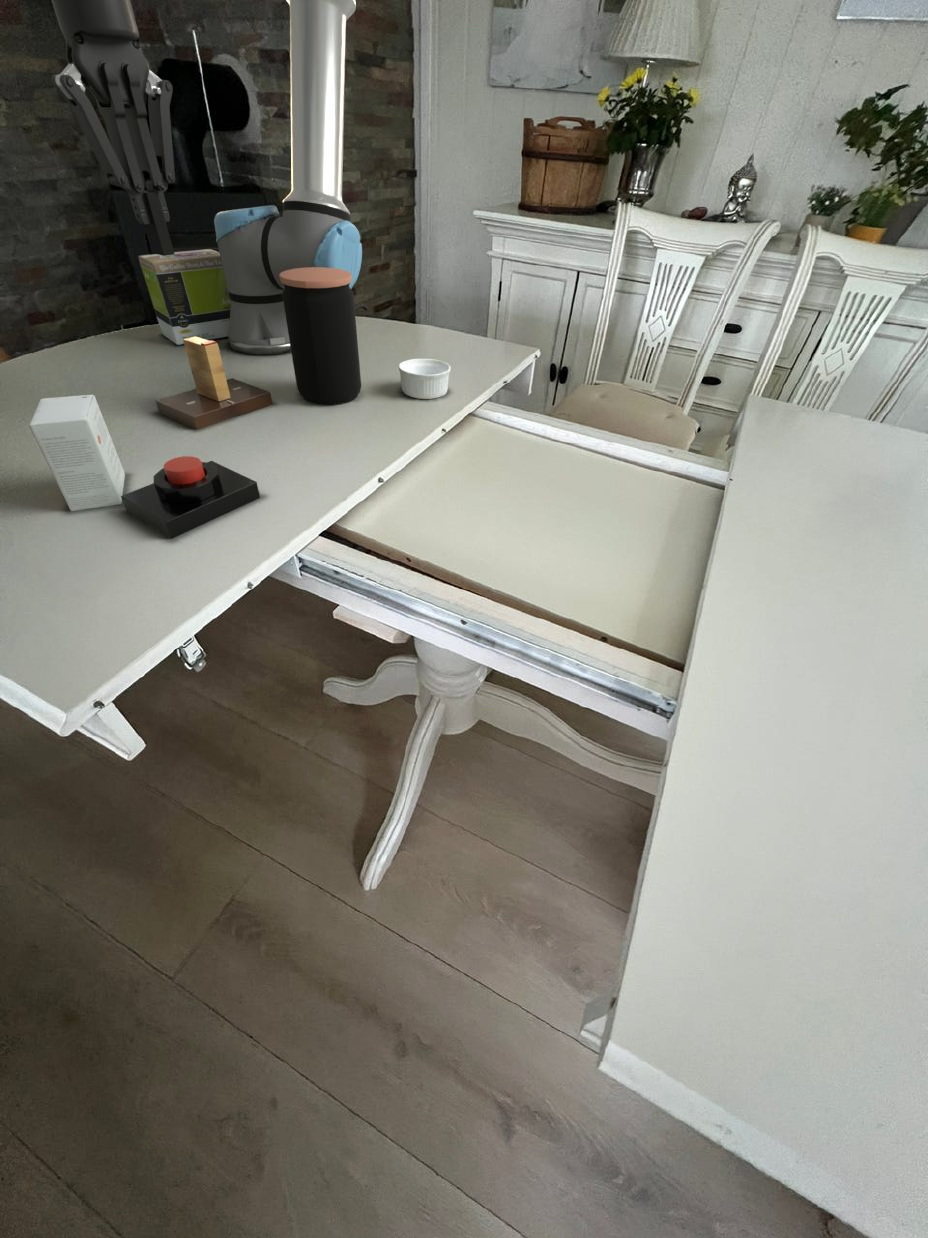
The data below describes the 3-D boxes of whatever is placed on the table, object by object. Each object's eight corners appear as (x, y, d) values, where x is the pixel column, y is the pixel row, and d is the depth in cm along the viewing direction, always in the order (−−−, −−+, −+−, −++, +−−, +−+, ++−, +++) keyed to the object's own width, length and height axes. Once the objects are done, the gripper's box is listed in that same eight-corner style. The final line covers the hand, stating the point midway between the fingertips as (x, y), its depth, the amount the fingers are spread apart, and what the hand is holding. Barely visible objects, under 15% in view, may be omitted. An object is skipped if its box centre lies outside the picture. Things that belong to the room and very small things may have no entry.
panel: (234, 389, 97) (231, 376, 96) (272, 404, 93) (270, 390, 92) (159, 413, 89) (154, 399, 87) (197, 430, 84) (193, 415, 83)
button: (192, 466, 68) (187, 452, 67) (212, 476, 66) (208, 462, 65) (161, 478, 65) (156, 464, 64) (181, 489, 64) (176, 475, 62)
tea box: (230, 324, 128) (212, 247, 118) (248, 335, 122) (231, 254, 112) (160, 334, 120) (136, 252, 111) (176, 346, 114) (152, 261, 105)
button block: (215, 476, 74) (207, 446, 71) (260, 498, 70) (253, 468, 67) (127, 512, 66) (114, 481, 64) (171, 539, 62) (159, 507, 60)
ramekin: (440, 381, 104) (440, 356, 101) (457, 397, 98) (458, 371, 95) (393, 385, 101) (392, 360, 98) (408, 403, 95) (407, 376, 92)
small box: (77, 481, 71) (39, 397, 65) (126, 475, 73) (94, 392, 66) (69, 512, 66) (26, 424, 59) (122, 505, 67) (86, 418, 61)
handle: (197, 393, 90) (182, 337, 85) (209, 389, 91) (195, 334, 86) (218, 401, 88) (204, 344, 82) (230, 397, 89) (217, 341, 84)
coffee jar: (368, 386, 100) (359, 268, 89) (353, 408, 92) (341, 282, 81) (309, 382, 101) (292, 265, 89) (289, 404, 93) (268, 278, 81)
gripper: (38, -30, 53) (132, 265, 68) (166, -10, 61) (223, 250, 76) (1, -24, 56) (99, 256, 72) (126, -5, 64) (189, 243, 80)
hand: (163, 253), depth 74 cm, fingers closed
